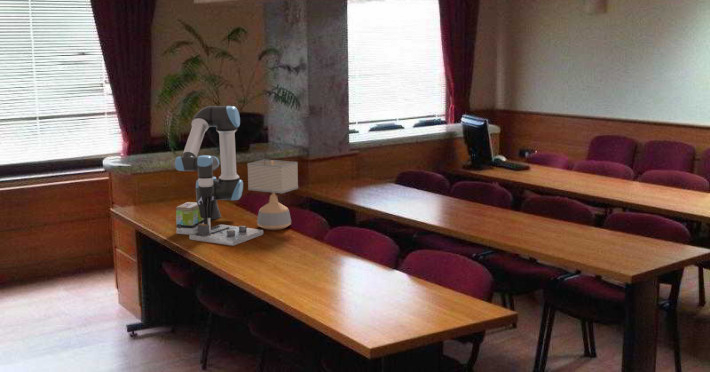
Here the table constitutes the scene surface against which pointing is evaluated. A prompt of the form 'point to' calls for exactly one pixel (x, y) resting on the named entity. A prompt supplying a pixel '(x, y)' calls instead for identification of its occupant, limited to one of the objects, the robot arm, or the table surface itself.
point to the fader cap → (203, 229)
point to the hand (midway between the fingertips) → (207, 230)
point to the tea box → (188, 218)
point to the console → (227, 235)
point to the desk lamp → (273, 190)
